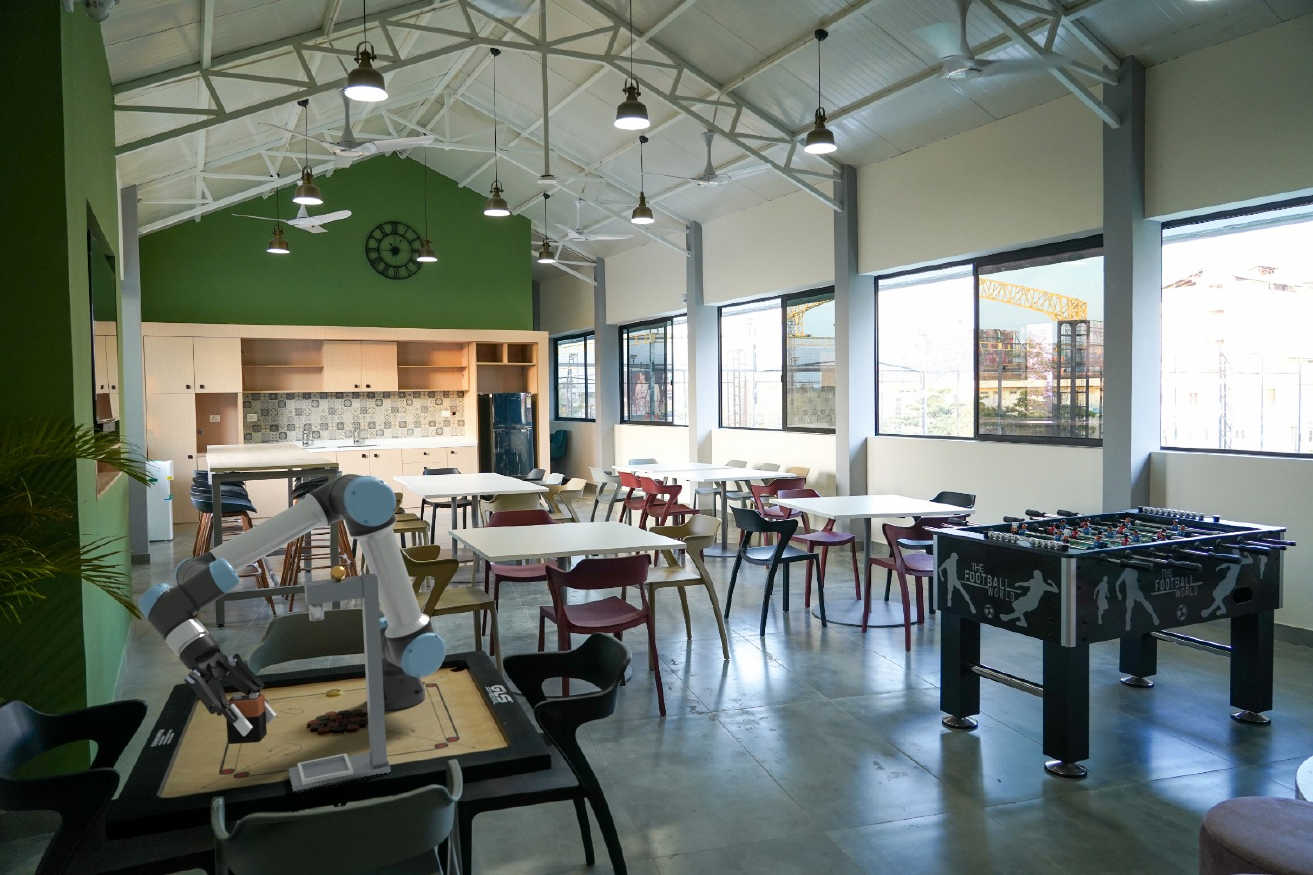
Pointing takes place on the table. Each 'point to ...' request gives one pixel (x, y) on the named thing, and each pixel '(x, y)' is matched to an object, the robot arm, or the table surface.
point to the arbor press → (376, 759)
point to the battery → (248, 718)
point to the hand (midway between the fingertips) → (260, 725)
